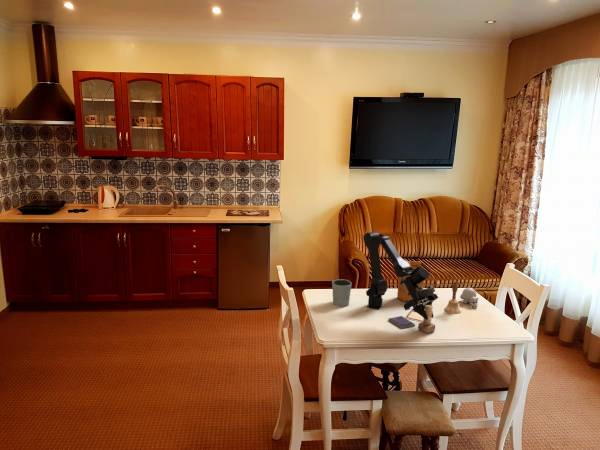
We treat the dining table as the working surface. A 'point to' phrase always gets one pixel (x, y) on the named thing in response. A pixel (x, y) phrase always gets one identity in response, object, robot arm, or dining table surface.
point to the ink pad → (401, 322)
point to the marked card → (414, 316)
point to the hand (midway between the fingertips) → (430, 318)
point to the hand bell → (453, 301)
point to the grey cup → (341, 292)
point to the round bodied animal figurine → (469, 296)
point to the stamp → (427, 321)
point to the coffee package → (402, 288)
